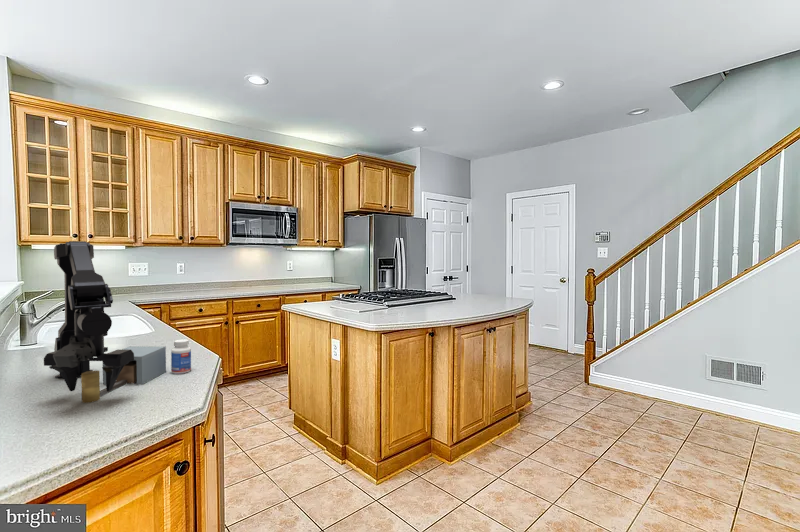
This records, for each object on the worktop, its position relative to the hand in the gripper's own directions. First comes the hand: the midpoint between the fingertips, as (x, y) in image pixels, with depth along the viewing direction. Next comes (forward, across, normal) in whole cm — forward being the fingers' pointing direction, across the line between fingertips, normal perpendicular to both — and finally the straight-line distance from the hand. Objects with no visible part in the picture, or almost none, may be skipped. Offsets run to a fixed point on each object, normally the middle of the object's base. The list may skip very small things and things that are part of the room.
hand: (90, 390), depth 99 cm
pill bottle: (+2, +10, +23) cm, 26 cm away
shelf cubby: (+2, 0, +16) cm, 17 cm away
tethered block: (+2, 0, +8) cm, 8 cm away
